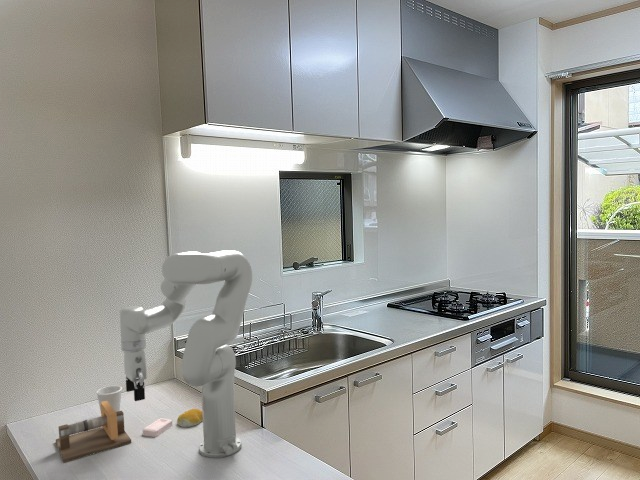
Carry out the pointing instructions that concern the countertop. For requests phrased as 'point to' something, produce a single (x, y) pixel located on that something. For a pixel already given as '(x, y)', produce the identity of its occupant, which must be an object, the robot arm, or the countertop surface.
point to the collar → (110, 420)
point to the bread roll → (190, 418)
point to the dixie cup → (110, 396)
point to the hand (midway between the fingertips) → (135, 395)
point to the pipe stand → (89, 437)
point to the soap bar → (157, 427)
